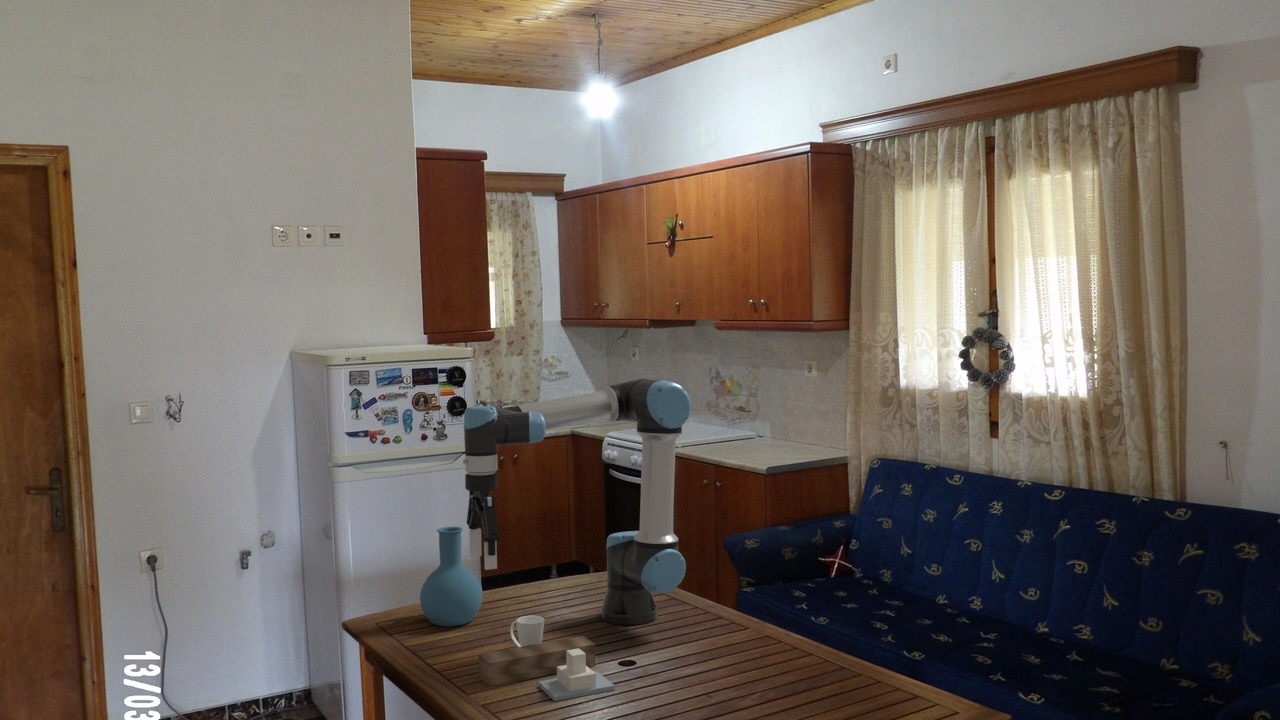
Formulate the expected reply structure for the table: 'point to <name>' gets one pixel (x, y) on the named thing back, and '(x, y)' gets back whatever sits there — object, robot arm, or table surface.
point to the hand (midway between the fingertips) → (483, 562)
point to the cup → (528, 630)
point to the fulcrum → (575, 679)
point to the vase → (450, 585)
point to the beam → (531, 660)
